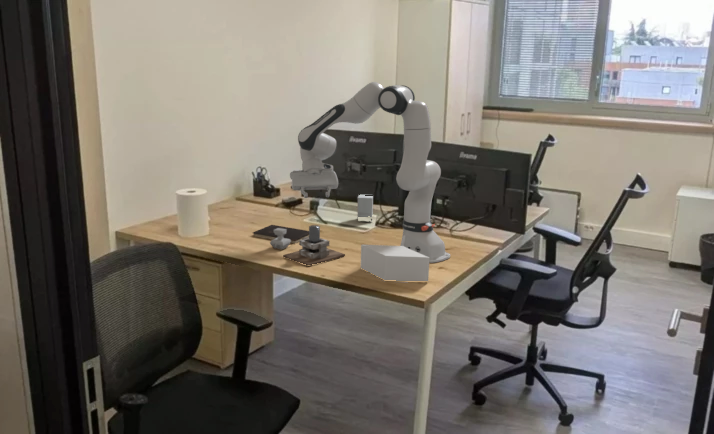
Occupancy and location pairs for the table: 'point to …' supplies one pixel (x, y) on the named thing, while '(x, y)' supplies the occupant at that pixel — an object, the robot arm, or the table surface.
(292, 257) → the collar stand
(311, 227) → the tube
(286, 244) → the stamp
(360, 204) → the supplement box
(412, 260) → the grey wedge block
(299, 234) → the hardcover book
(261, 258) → the table surface
